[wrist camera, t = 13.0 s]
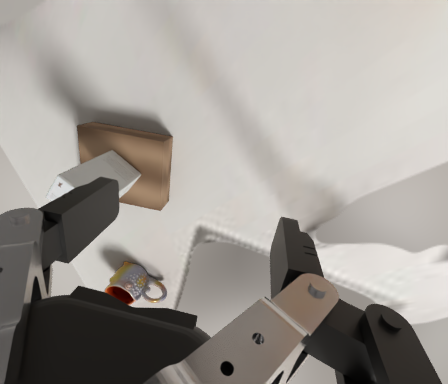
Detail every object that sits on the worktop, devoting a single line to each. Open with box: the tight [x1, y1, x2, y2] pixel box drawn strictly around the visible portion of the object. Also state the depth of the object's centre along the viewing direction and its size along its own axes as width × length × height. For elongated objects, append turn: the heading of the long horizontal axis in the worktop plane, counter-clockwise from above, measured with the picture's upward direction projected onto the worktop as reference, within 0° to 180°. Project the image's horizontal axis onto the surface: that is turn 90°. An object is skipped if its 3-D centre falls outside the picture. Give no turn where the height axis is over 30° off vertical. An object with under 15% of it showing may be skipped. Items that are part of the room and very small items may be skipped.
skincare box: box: [46, 150, 141, 201], centre depth 35 cm, size 6×4×12 cm
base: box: [77, 122, 173, 211], centre depth 42 cm, size 12×14×4 cm
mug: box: [105, 261, 167, 305], centre depth 52 cm, size 12×7×7 cm, turn 74°
